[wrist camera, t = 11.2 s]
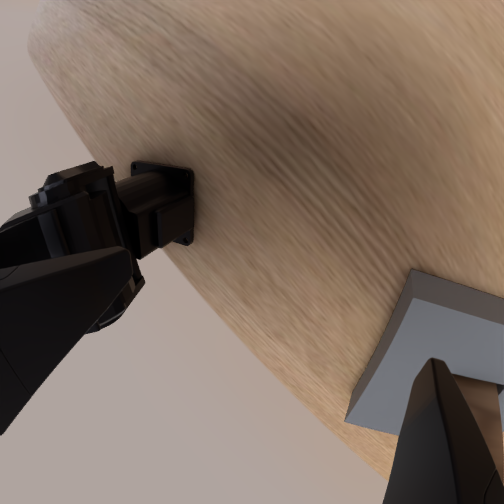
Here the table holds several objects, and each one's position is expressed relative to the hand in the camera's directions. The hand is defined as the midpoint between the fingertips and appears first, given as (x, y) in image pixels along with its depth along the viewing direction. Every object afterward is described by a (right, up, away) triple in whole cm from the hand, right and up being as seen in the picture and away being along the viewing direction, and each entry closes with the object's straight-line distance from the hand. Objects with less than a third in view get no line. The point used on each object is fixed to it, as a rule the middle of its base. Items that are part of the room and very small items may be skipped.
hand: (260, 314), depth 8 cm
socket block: (+17, -8, +11) cm, 22 cm away
